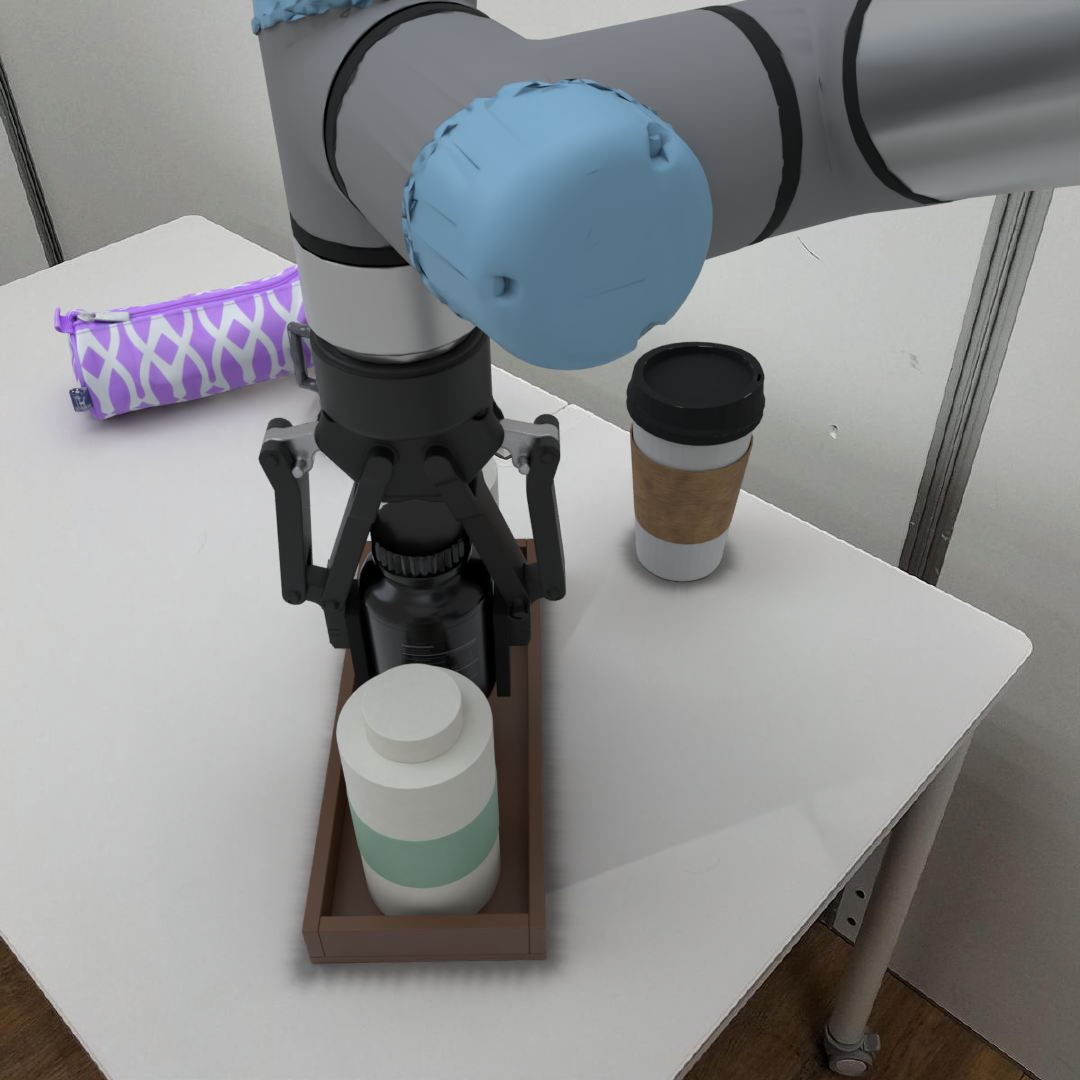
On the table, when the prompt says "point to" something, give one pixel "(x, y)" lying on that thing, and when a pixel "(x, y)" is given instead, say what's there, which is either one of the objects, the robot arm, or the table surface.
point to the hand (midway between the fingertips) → (436, 678)
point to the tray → (519, 899)
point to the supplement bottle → (427, 594)
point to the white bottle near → (422, 790)
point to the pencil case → (183, 345)
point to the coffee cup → (690, 451)
